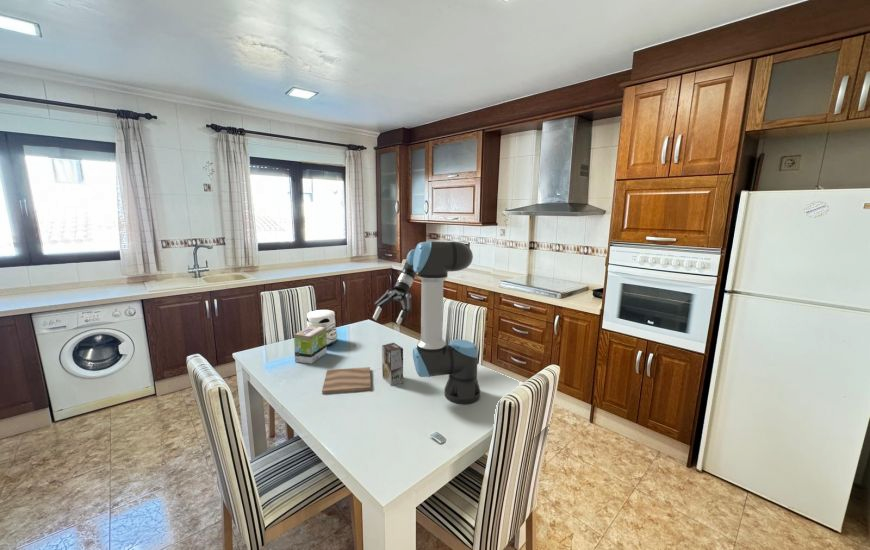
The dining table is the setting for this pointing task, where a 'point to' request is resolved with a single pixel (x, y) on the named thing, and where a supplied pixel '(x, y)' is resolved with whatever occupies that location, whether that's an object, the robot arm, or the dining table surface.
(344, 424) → the dining table surface
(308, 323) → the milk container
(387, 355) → the coffee box
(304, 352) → the tea box
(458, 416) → the dining table surface
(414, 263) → the robot arm
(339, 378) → the tan board
